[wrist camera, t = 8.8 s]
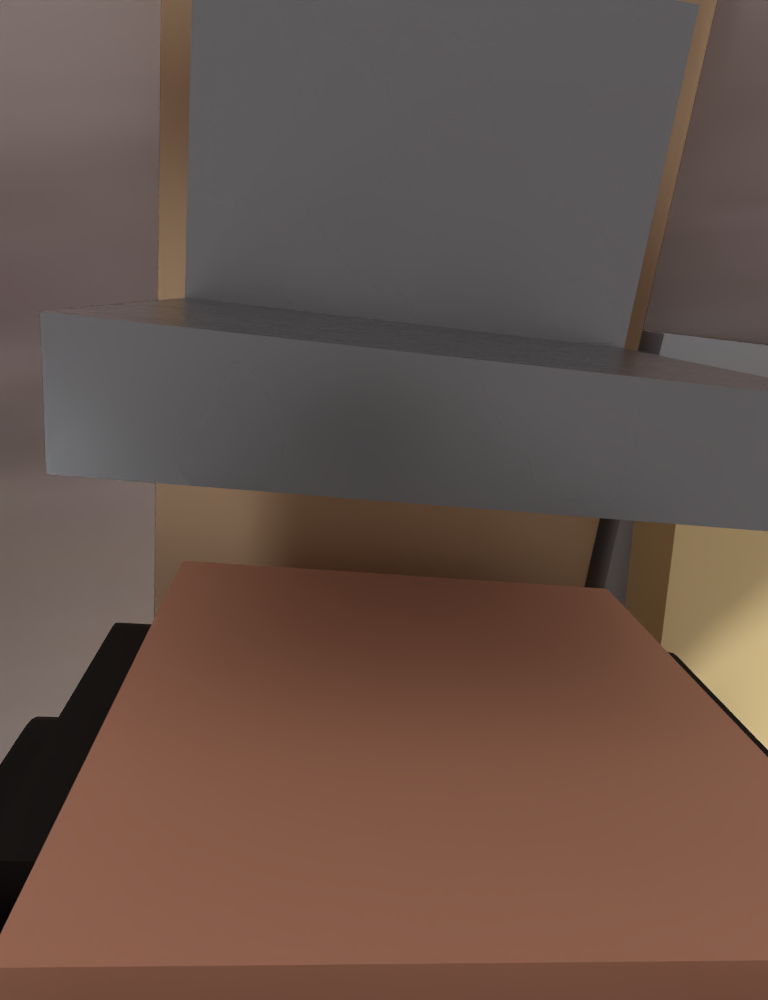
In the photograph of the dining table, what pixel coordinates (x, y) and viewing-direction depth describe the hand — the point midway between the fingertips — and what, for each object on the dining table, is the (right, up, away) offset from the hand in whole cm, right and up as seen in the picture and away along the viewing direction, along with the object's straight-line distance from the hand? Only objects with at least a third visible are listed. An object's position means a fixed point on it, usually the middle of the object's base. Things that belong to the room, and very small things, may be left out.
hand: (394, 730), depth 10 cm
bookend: (0, +8, +1) cm, 8 cm away
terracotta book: (0, 0, +1) cm, 1 cm away
